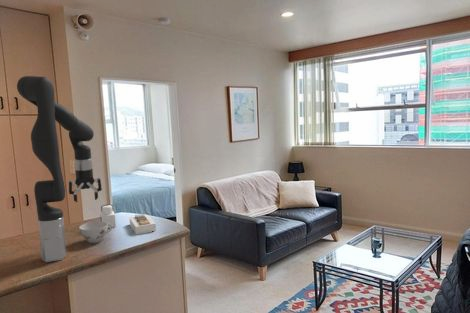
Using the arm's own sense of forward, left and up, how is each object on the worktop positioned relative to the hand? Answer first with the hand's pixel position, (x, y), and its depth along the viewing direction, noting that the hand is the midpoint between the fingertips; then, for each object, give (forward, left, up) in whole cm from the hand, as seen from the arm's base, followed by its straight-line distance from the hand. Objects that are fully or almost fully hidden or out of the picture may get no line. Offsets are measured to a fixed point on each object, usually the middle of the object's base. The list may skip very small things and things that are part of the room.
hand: (86, 200), depth 160 cm
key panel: (+4, -26, -19) cm, 33 cm away
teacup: (-4, -3, -20) cm, 20 cm away
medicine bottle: (+16, -10, -20) cm, 28 cm away
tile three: (+10, -26, -17) cm, 33 cm away
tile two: (+4, -27, -17) cm, 32 cm away
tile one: (-2, -26, -17) cm, 31 cm away
